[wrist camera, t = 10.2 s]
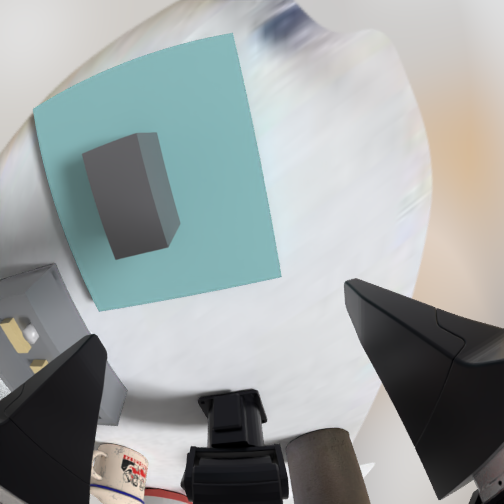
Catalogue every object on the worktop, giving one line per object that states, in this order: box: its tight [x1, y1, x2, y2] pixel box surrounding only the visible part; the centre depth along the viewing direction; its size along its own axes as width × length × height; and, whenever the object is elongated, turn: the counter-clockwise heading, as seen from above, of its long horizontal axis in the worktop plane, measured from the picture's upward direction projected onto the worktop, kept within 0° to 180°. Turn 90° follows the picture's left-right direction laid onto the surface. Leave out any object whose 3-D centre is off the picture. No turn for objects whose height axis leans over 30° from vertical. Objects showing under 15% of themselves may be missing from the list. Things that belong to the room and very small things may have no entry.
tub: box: [0, 264, 127, 426], centre depth 21 cm, size 16×14×5 cm
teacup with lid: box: [90, 444, 148, 504], centre depth 28 cm, size 12×9×12 cm
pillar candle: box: [286, 428, 370, 504], centre depth 27 cm, size 10×10×15 cm
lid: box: [33, 33, 282, 312], centre depth 16 cm, size 17×15×6 cm
